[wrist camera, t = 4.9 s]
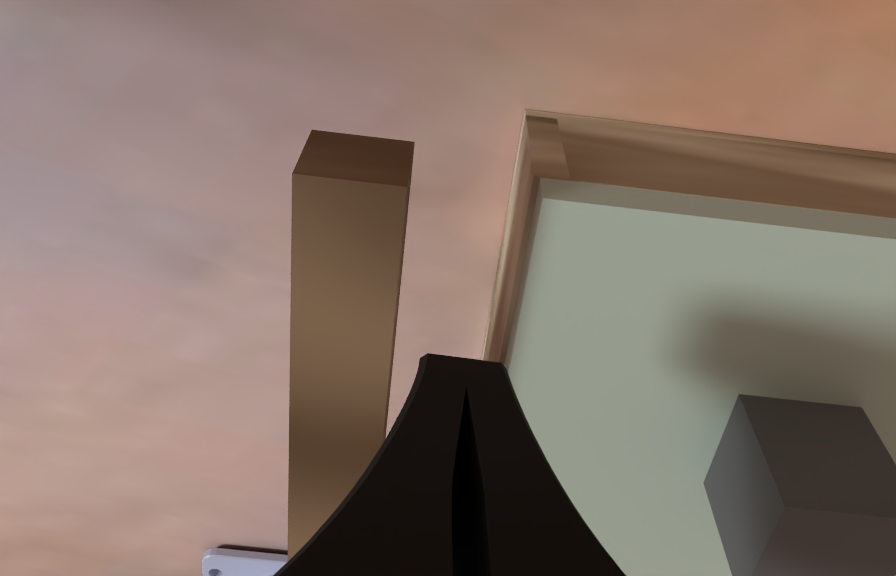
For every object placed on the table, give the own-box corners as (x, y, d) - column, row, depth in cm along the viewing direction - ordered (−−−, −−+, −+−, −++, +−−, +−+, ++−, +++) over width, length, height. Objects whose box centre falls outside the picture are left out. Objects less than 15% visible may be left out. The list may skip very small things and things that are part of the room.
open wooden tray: (815, 486, 28) (861, 585, 25) (466, 449, 28) (464, 544, 24) (978, 164, 22) (1071, 239, 18) (524, 109, 21) (534, 175, 18)
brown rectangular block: (369, 595, 24) (361, 659, 22) (300, 588, 23) (286, 652, 22) (414, 142, 16) (407, 186, 14) (312, 129, 16) (292, 173, 14)
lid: (853, 558, 25) (936, 736, 21) (469, 519, 25) (468, 691, 20) (1050, 219, 19) (1234, 367, 14) (537, 158, 19) (556, 290, 14)
